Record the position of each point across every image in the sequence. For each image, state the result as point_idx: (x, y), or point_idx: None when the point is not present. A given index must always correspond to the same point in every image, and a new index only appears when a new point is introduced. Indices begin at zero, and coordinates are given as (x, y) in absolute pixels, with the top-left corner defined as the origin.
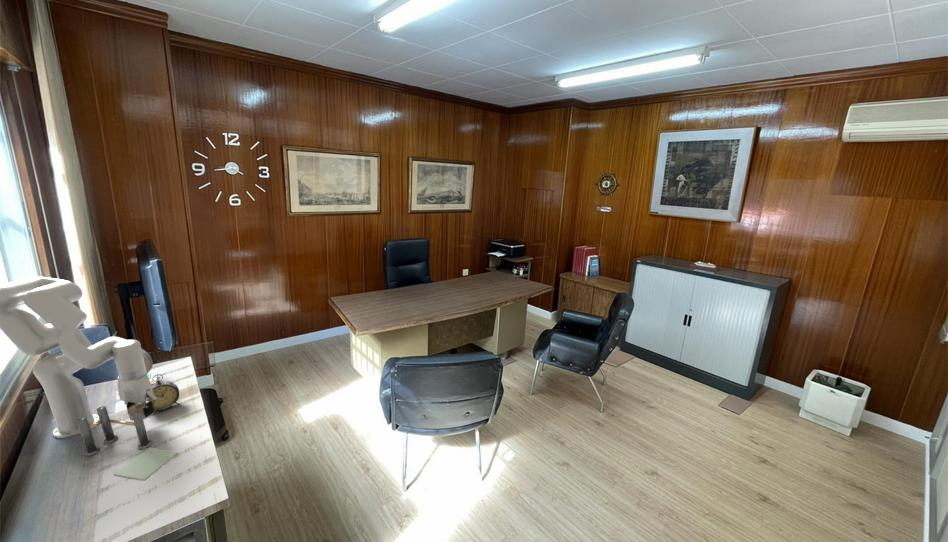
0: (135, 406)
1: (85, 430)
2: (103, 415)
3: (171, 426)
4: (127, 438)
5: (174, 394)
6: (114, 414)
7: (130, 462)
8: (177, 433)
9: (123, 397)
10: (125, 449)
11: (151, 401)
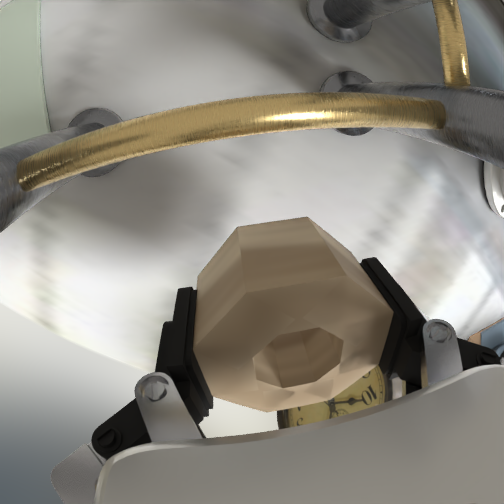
0: (342, 341)
1: None
2: (497, 107)
3: (143, 288)
4: (272, 137)
5: (296, 418)
6: (471, 243)
7: (31, 45)
8: (61, 266)
9: (484, 434)
10: (172, 72)
11: (86, 461)
